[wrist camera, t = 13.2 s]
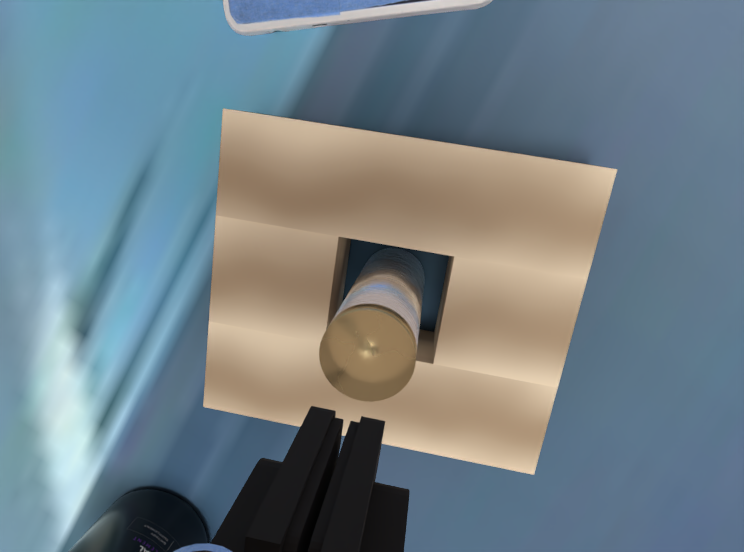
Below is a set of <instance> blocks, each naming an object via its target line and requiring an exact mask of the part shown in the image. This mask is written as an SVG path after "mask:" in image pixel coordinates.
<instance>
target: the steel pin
mask: <svg viewBox="0 0 744 552" xmlns="http://www.w3.org/2000/svg"><path fill="white" fill-rule="evenodd" d="M424 283H425V274H424V270H423V267H422V265H421V263H420V262H419V260H418V259H417V258H416V257H415V256H414V255H413V254H411V253H410V252H408V251H406V250H404V249H400V248H386V249H382V250H380V251H378V252H376V253H375V254H373V255H372V256H371V257H370V258H369V260H368V261H367V262H366V264H365V266H364V268H363V269H362V271H361V273H360V274H359V276H358V278H357V279H356V281H355V283H354V284H353V286H352V288H351V289H350V291H349V293H348V294H347V296H346V298H345V299H344V301H343V303H342V305H341V306H340V308H339V310H338V311H337V313H336V315H335V316H334V318H333V320H332V321H331V323H330V325H329V326H328V328H327V330H326V331H325V333H324V335H323V337H322V340H321V343H320V348H319V360H320V365H321V368H322V371H323V373H324V375H325V377H326V378H327V380H328V381H329V382H330V383H331V385H332V386H333V387H334V388H336V389H337V390H338V391H339V392H341V393H342V394H344V395H346V396H348V397H350V398H353V399H356V400H360V401H367V402H373V401H380V400H385V399H387V398H390V397H392V396H394V395H396V394H397V393H399V392H400V391H401V390H402V389H403V388H404V387H405V386H406V385H407V384H408V382H409V381H410V379H411V377H412V375H413V372H414V369H415V363H416V354H417V345H418V336H419V327H420V318H421V309H422V300H423V291H424Z"/></svg>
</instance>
